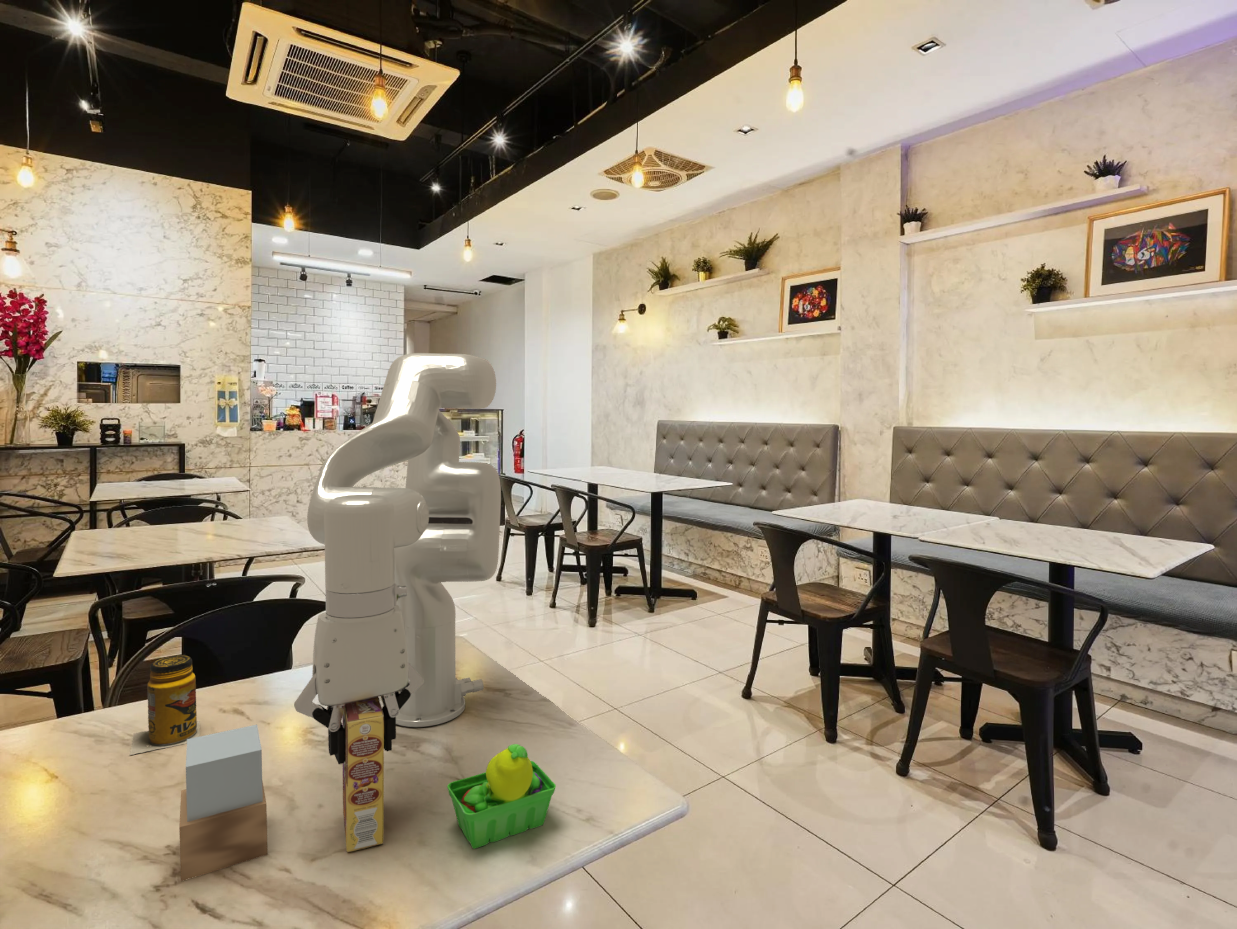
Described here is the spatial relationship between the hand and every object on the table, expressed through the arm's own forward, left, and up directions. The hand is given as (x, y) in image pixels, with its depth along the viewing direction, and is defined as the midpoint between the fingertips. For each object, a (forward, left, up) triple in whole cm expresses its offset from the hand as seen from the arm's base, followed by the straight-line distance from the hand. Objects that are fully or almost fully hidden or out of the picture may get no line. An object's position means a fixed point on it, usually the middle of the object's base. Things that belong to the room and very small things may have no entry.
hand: (362, 750), depth 76 cm
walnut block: (+14, -5, -10) cm, 18 cm away
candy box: (0, 0, -10) cm, 10 cm away
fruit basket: (-14, +9, -10) cm, 19 cm away
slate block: (+14, -5, -4) cm, 15 cm away
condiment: (+20, -39, -10) cm, 45 cm away
